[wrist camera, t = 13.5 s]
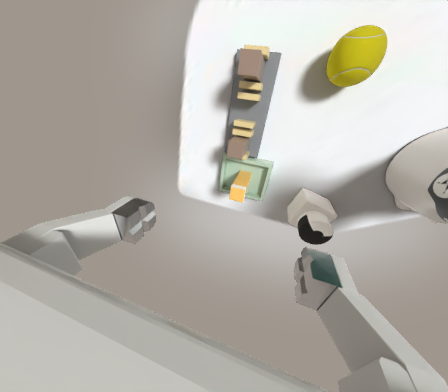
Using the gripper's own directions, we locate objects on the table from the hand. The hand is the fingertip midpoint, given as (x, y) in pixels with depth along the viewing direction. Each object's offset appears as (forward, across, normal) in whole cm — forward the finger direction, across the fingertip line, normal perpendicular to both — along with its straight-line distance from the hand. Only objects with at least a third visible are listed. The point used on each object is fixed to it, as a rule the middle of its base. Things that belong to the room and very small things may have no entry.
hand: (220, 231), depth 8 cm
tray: (+33, +3, +11) cm, 35 cm away
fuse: (+32, +3, +11) cm, 34 cm away
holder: (+33, +5, -4) cm, 34 cm away
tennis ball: (+34, -10, -13) cm, 38 cm away
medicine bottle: (+34, -14, +15) cm, 39 cm away
